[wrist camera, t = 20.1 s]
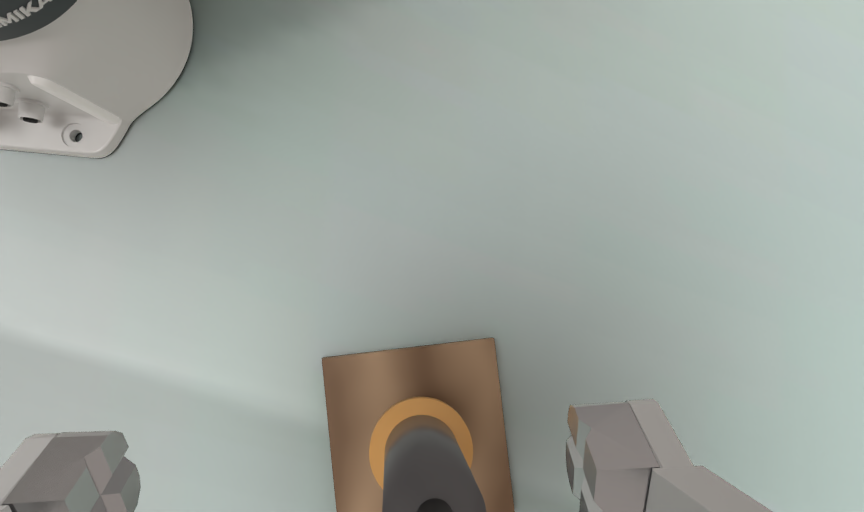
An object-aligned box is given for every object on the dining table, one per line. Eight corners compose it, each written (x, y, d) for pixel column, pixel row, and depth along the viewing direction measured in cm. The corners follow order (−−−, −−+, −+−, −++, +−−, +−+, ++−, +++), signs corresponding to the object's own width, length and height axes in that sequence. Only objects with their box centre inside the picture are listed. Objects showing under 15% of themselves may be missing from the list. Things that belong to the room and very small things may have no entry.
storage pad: (340, 532, 40) (339, 538, 39) (323, 357, 41) (321, 359, 40) (511, 508, 41) (514, 513, 40) (491, 337, 42) (494, 338, 41)
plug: (376, 490, 39) (361, 683, 20) (366, 394, 40) (342, 489, 20) (469, 477, 40) (547, 653, 20) (459, 383, 40) (525, 464, 20)
